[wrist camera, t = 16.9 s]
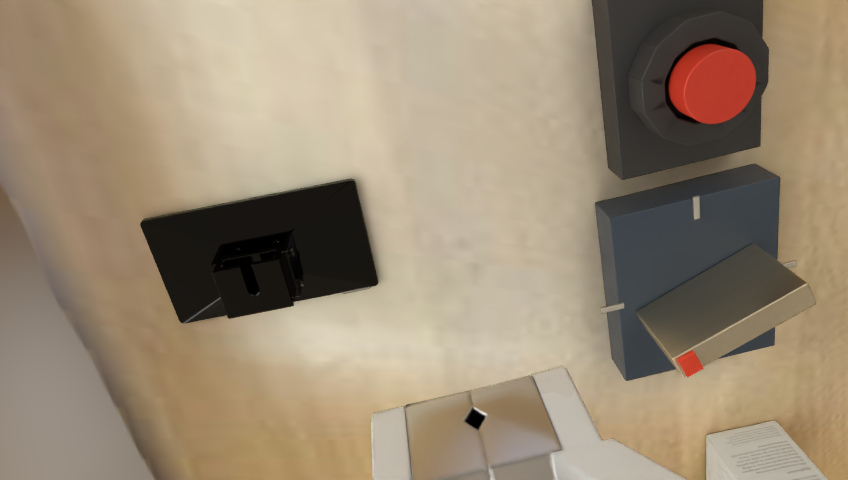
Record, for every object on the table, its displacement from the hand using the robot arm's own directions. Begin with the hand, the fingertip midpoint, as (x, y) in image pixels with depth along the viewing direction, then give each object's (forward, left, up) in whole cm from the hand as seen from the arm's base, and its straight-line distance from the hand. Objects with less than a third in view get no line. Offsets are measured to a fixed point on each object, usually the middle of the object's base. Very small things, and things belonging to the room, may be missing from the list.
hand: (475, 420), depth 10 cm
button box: (+3, +15, -27) cm, 31 cm away
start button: (+3, +15, -23) cm, 28 cm away
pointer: (+16, +15, -24) cm, 33 cm away
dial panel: (+16, +15, -27) cm, 35 cm away
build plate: (+8, -10, -27) cm, 30 cm away
